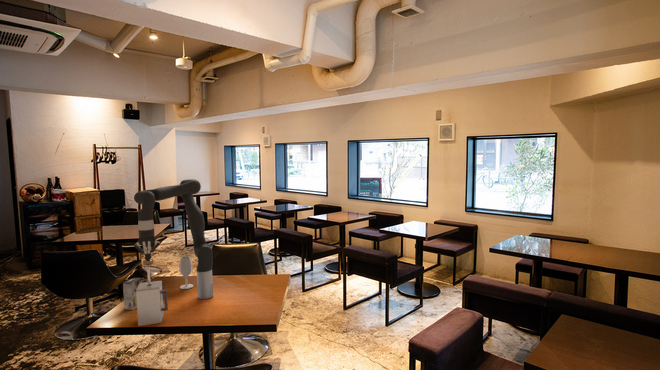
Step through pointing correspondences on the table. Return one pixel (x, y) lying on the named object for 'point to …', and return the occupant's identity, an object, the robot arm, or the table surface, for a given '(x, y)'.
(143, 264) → the brass disc knob
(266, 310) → the table surface
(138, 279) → the coffee box
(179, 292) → the table surface
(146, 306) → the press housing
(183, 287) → the wineglass
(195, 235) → the robot arm
